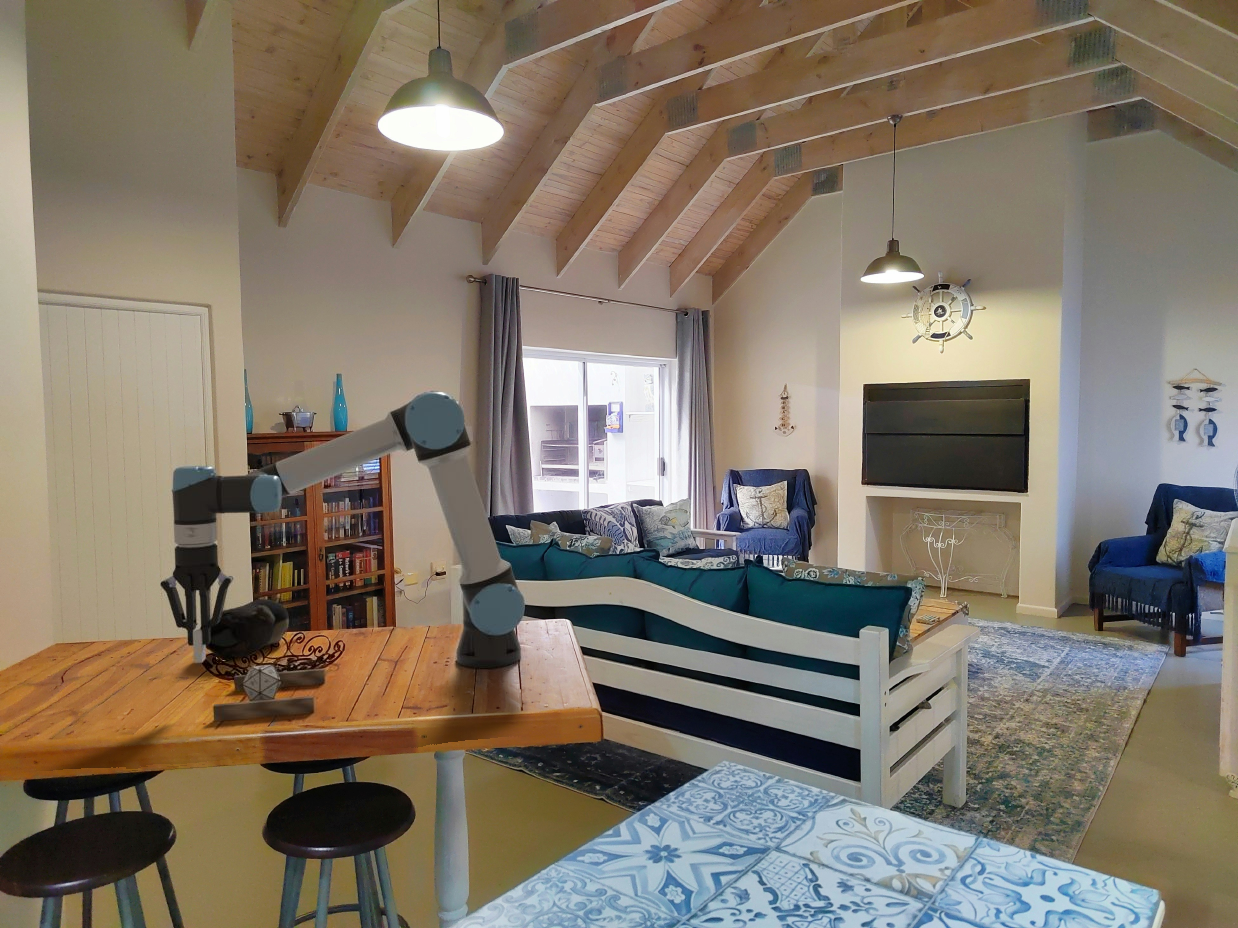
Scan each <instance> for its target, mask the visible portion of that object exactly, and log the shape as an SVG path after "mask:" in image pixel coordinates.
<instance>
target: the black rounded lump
mask: <svg viewBox="0 0 1238 928" xmlns="http://www.w3.org/2000/svg"><path fill="white" fill-rule="evenodd" d="M211 619H212V617H211ZM288 627H289V612H288V610H287V609H286V607H284V605H282V604H281V603H279V602H277V601H275V600H271V599H263V598H262V599H261V598H260V599H258V598H257V599H256V600H253V601H250V602H248V603H246V604H244V605H241V606H237V607H234V608H229V609H228V608H227V609H223V611H222V615H221V620H220V622H219V623H218V624H217V625H215V626H212V627H211V628H210V635H211V640H210V643H209V644H208V645H205V648H206V650H209V651H210V652H211V653H213V655H214V657H215V659H216V657H220V658H221V659H222V660H228V661H229V659H230V658H240V657H242V658H245V657H249V656H252V655H254V654H256V653H257V652H258V651H260V650H261V649H263V648H264V647H265V646H270V645H272V644H277V643H279V642H281V640H282V639H283V636H284V635H285V634H286V633H287V630H288Z"/></svg>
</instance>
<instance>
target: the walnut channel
mask: <svg viewBox="0 0 1238 928" xmlns="http://www.w3.org/2000/svg"><path fill="white" fill-rule="evenodd" d="M325 670H326V669H325V668H314V669H313V668H312V669H303V670H292V671H291V670H289V671H277V673H278V675H279V677H280V679H282V680H284V681H285V682H284V683H283V682H281V684H280V686H279V688H286V687H288V688H289V687H298V686H299V687H300V686H310V685H312V686H313V685H321V684H323V685H324V684H325V683H326V673H325V672H326V671H325ZM245 676H246V674H241V675H234V676H233V679H234V681H233V682H234V692H240V691H245V690H244V688H243V687H242V685H241V686H239V685H238V684H239V683H243V681H244V679H245ZM212 708H213V709H212V710H213V722H214V723H215V722H224V721H235V720H247V719H257V718H269V717H278V716H289V715H299V714H310V713H315V696H314V695H307V696H295V697H285V698H284V697H283V698H274V699H271V700H260V701H237V702H228V703H217V704H216V703H215V704H214V705H213V706H212Z"/></svg>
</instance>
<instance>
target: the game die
mask: <svg viewBox="0 0 1238 928" xmlns="http://www.w3.org/2000/svg"><path fill="white" fill-rule="evenodd" d="M275 665H276V660H274V661H272V663H271V664H260V665H253V666H252V664H251V663H249V662H248V663H247V666H248V667H249V669H248V671H247V672H246V674H245V675H246V676H245V679H244V681H243V683H239V684H238V685H239V686H241V685H242V687H243V688H244V690H243V691H244V692H245V694H246V696H247V699H248V700H249V701H260V700H271V699H275V696H276V694H277V693H278V691H279V688H280V687H279V686H280V684H281V682H283V683H284V682H285V681H284V680H282V679H280V677H279V675H278V673H277V672H278V670H277V668H276V666H275Z"/></svg>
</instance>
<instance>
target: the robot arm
mask: <svg viewBox="0 0 1238 928" xmlns="http://www.w3.org/2000/svg"><path fill="white" fill-rule="evenodd" d="M471 447H472V444H471V440H470V438H469V434H468V431H467V428H466V425H465V413H464V411H463V409H462V407H461V404H460V403H459V402H458V401H457V400H456V399H455V398H454V397H452V396H451V395H450V394H448V393H446V392H442V391H438V390H430V391H426V392H423V393H420V394H418V395H417V396H414V398H413V399H412V400H410V401H409V402H408V403H406V404H404V405H403V406H401V407H399V408H396V409H394V410H391V411H389V412H388V413H387V415H386V417H385V418H383V419H381V420H378V421H376V422H373V423H371V424H369V425H366V426H364V427H361V428H358V429H356V430H354V431H351V432H349V433H347V434H343V435H341V436H339V437H336V438H333V439H331V440H329V441H326V442H325V443H321V444H319V445H316V446H313V447H312V448H309V449H306V450H303V451H302V452H299V453H297V454H294V455H291V456H289V457H286V458H284V459H281V460H279V461H277V462H275V463H272V464H270V465H266V466H265V467H262V468H259V469H255V470H253V471H250V472H248V474H246V475H228V476H227V475H217V473H216V468H215V467H214V466H211V465H187V466H185V465H184V466H179V467H177V468H175V469H174V470H173V473H172V489H171V492H172V503H173V505H172V506H173V535H174V537H173V538H174V543H175V545H176V546H175V548H174V570H173V571H172V575H171V576H170V577H168V578H165V579H164V580H162V581H160V586H161V588H162V590H164V592H165V593H166V596H167V600H168V602H169V605H170V609H171V612H172V616H173V618H174V622H175V624H176V627H177V628H178V629H179V628H180V629H185V630H186V631H187V644H188V646H193V664H200V663H204V661H205V660H206V658H207V653H206V651H207V648H205V645H208V644H209V643H210V640H211V635H210V628H211V627H212V626H215V625H217V624H218V623H219V622H220V620H221V615H222V611H224V606H225V603H226V602H225V601H226V599H227V598H226V597H227V593H228V589H229V587H230V585H231V584H232V583H233V581H234V577H233V576H232V575H226V574H224V573H223V572H222V570H221V568H220V566H219V554H218V553H219V552H218V549H219V548H218V545H217V543H215V542H216V541H218V525H217V524H218V523H217V522H218V521H217V520H218V519H217V516H218V515H217V514H242V513H243V514H244V513H245V514H247V513H248V514H249V513H250V514H251V513H252V514H253V513H254V514H255V513H259V514H265V513H270V512H271V513H273V512H278V511H279V510H280V508H281V506H282V500H283V498H285V497H287V496H289V495H292V494H294V493H296V492H299V491H301V490H305V489H306V488H309V487H310V486H311V487H312V486H313V485H316V484H318V483H321V482H323V481H325V480H328V479H331V478H334V477H335V476H338V475H341V474H343V473H346V472H348V471H351V470H353V469H355V468H358V467H361V466H363V465H365V464H368V463H370V462H372V461H374V460H377V459H379V458H383V457H385V456H387V455H390V454H392V453H394V452H397V451H403V452H408V451H411V450H414V452H415V456H416V459H417V461H418V463H419V464H421V465H423V466H425V467H426V468H427V469H428V471H429V475H430V478H431V480H432V483H433V487H434V489H435V492H436V493H435V494H436V495H437V499H438V501H439V504H440V507H441V510H442V513H443V516H444V518H445V519H444V520H445V522H446V525H447V528H448V531H449V533H450V537H451V540H452V543H453V546H454V549H455V551H456V555H457V559H458V561H459V564H460V566H461V570H462V571H461V572H462V573H461V575H460V577H459V580H458V583H459V586H460V589H461V592H462V619H463V621H462V622H463V625H462V626H463V627H462V632H461V634H460V639H459V642H458V645H457V648H456V662H457V664H458V665H460V666H464V667H467V668H470V669H471V668H473V669H492V668H493V669H494V668H501V667H505V666H510V665H512V664H515V663H516V662H518V661H520V659H521V657H522V652H521V651H522V650H521V649H522V647H521V644H520V642H519V639H518V636H517V633H516V630H515V628H516V627H518V625H519V624H520V623H521V621H522V619H523V618H524V615H525V609H526V608H525V606H526V604H525V598H524V596H523V594H522V592H521V591H520V590H519V588H518V584H517V581H516V578H515V575H514V572H513V568H512V564H511V563H510V562H508V561H506V560H504V559H502V558H501V554H500V552H499V549H498V546H497V543H496V540H495V536H494V533H493V530H492V527H491V524H490V522H489V519H488V515H487V512H486V510H485V506H484V503H483V500H482V497H481V494H480V491H479V487H478V485H477V481H476V479H475V476H474V473H473V470H472V467H471V464H470V461H469V456H468V453H469V451H470V449H471ZM217 580H218V582H217V585H218V586H219V588H218V589H217V590H218V591H217V595H216V599H215V604H214V607H213V611H212V614H211V588H212V586H213V585H214V583H215V582H216V581H217ZM177 584H179V585H180V586H181V588H183V590H184V597H185V610H184V608H183V605H182V602H181V598H180V595H179V594H180V593H179V591H178V589H177V587H176V586H177ZM197 591H198V595H199V605H200V609H199V610H200V626H198V623H197V621H198V620H197V618H198V617H197ZM185 612H186V613H185ZM211 616H212V617H211ZM211 618H212V619H211Z"/></svg>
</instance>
